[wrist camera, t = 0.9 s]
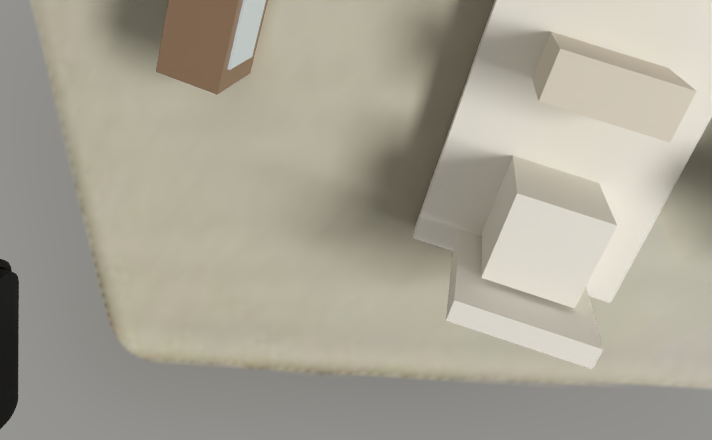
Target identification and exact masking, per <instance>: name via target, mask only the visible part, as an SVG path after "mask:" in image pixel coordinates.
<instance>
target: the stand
mask: <svg viewBox="0 0 712 440" xmlns="http://www.w3.org/2000/svg"><path fill="white" fill-rule="evenodd" d="M711 117H712V0H495V1H494V4H493V7H492V9H491V12H490V15H489V18H488V21H487V24H486V26H485V29H484V32H483V35H482V38H481V41H480V43H479V46H478V49H477V52H476V55H475V58H474V60H473V63H472V66H471V69H470V72H469V75H468V77H467V80H466V83H465V86H464V89H463V92H462V95H461V97H460V100H459V103H458V106H457V109H456V112H455V114H454V117H453V120H452V123H451V126H450V129H449V131H448V134H447V137H446V140H445V143H444V146H443V148H442V151H441V154H440V157H439V160H438V163H437V165H436V168H435V171H434V174H433V177H432V180H431V182H430V185H429V188H428V191H427V194H426V197H425V199H424V202H423V205H422V208H421V211H420V214H419V217H418V219H417V222H416V225H415V229H414V234H413V239H416V240H419V241H423V242H426V243H429V244H432V245H435V246H438V247H441V248H444V249H447V250H450V251H453V255H452V265H451V275H450V285H449V295H448V305H447V315H446V321H449V322H452V323H455V324H458V325H461V326H464V327H467V328H470V329H473V330H476V331H479V332H482V333H485V334H488V335H491V336H494V337H497V338H500V339H503V340H506V341H509V342H512V343H515V344H518V345H521V346H524V347H527V348H530V349H533V350H536V351H539V352H542V353H545V354H548V355H551V356H554V357H557V358H560V359H563V360H566V361H569V362H572V363H575V364H578V365H581V366H584V367H587V368H590V369H593V367H594V365H595V364H596V362H597V360H598V358H599V356H600V355H601V353H602V351H603V347H602V343H601V339H600V336H599V332H598V328H597V325H596V321H595V317H594V314H593V310H592V306H591V303H590V299H589V296H590V297H593V298H596V299H599V300H602V301H605V302H608V303H611V302H612V300H613V298H614V296H615V294H616V292H617V290H618V289H619V287H620V285H621V283H622V281H623V279H624V278H625V276H626V274H627V272H628V270H629V268H630V267H631V265H632V263H633V261H634V259H635V257H636V255H637V254H638V252H639V250H640V248H641V246H642V244H643V243H644V241H645V239H646V237H647V235H648V233H649V232H650V230H651V228H652V226H653V224H654V222H655V221H656V219H657V217H658V215H659V213H660V211H661V209H662V208H663V206H664V204H665V202H666V200H667V198H668V197H669V195H670V193H671V191H672V189H673V187H674V186H675V184H676V182H677V180H678V178H679V176H680V174H681V173H682V171H683V169H684V167H685V165H686V163H687V162H688V160H689V158H690V156H691V154H692V152H693V151H694V149H695V147H696V145H697V143H698V141H699V140H700V138H701V136H702V134H703V132H704V130H705V128H706V127H707V125H708V123H709V121H710V119H711Z"/></svg>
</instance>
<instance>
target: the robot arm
mask: <svg viewBox="0 0 712 440" xmlns="http://www.w3.org/2000/svg"><path fill="white" fill-rule="evenodd" d="M18 285H19V281H18V276H17V275H16V274H15V273H13V272H12V271H11V266H10V265H9V263H8V262H7V261H5V260H2V259H0V429H1V428H2V427H3V425H5V424H6V423H7V421H8V420H9V419H10V418H11V416H12V414H13V413H14V410H15V408H16V405H17V402H18V300H19V295H18V293H19V292H18V290H19V286H18Z"/></svg>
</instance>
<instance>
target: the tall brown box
mask: <svg viewBox="0 0 712 440" xmlns="http://www.w3.org/2000/svg"><path fill="white" fill-rule="evenodd" d="M267 2H268V0H168V6H167V12H166V17H165V23H164V29H163V34H162V40H161V46H160V51H159V57H158V63H157V68H156V72H158V73H161V74H164V75H166V76H169V77H172V78H174V79H177V80H180V81H182V82H185V83H188V84H191V85H193V86H196V87H199V88H201V89H204V90H207V91H209V92H212V93H215V94H219V93H220V92H222V91H223V90H225V89H226V88H228V87H230V86H231V85H233V84H234V83H236V82H237V81H239V80H240V79H242V78H243V77H245V76H246V75H248V74H249V73H250V71H251V67H252V63H253V59H254V55H255V51H256V47H257V42H258V38H259V34H260V30H261V26H262V22H263V18H264V14H265V10H266V6H267Z"/></svg>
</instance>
